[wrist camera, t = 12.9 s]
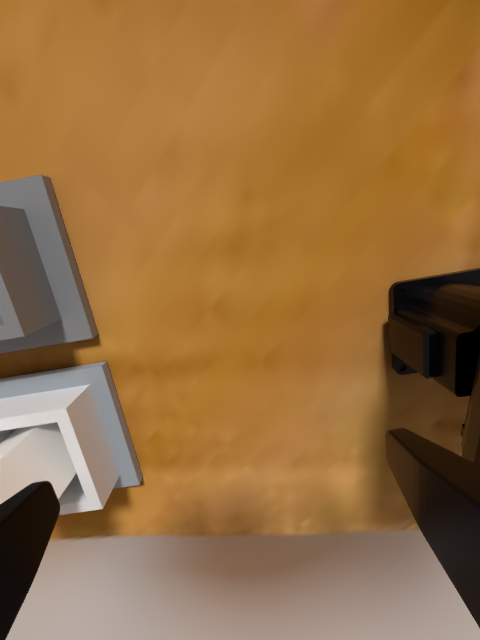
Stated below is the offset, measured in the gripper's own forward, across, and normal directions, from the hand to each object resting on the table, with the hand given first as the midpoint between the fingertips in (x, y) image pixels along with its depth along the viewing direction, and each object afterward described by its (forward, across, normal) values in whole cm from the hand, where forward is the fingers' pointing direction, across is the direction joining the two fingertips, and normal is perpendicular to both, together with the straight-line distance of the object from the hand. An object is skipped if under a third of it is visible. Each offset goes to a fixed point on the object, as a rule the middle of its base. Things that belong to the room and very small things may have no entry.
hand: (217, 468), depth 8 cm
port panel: (+13, +14, +6) cm, 20 cm away
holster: (+13, +14, -6) cm, 20 cm away
